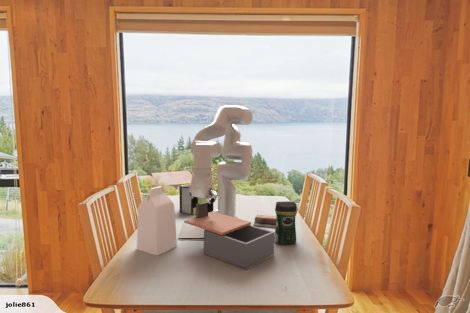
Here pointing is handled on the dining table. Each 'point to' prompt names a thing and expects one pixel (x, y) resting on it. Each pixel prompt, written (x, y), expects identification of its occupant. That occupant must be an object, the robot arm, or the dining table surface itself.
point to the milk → (156, 223)
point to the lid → (215, 221)
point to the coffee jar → (285, 223)
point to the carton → (240, 246)
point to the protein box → (187, 200)
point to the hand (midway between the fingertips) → (202, 209)
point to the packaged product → (265, 221)
